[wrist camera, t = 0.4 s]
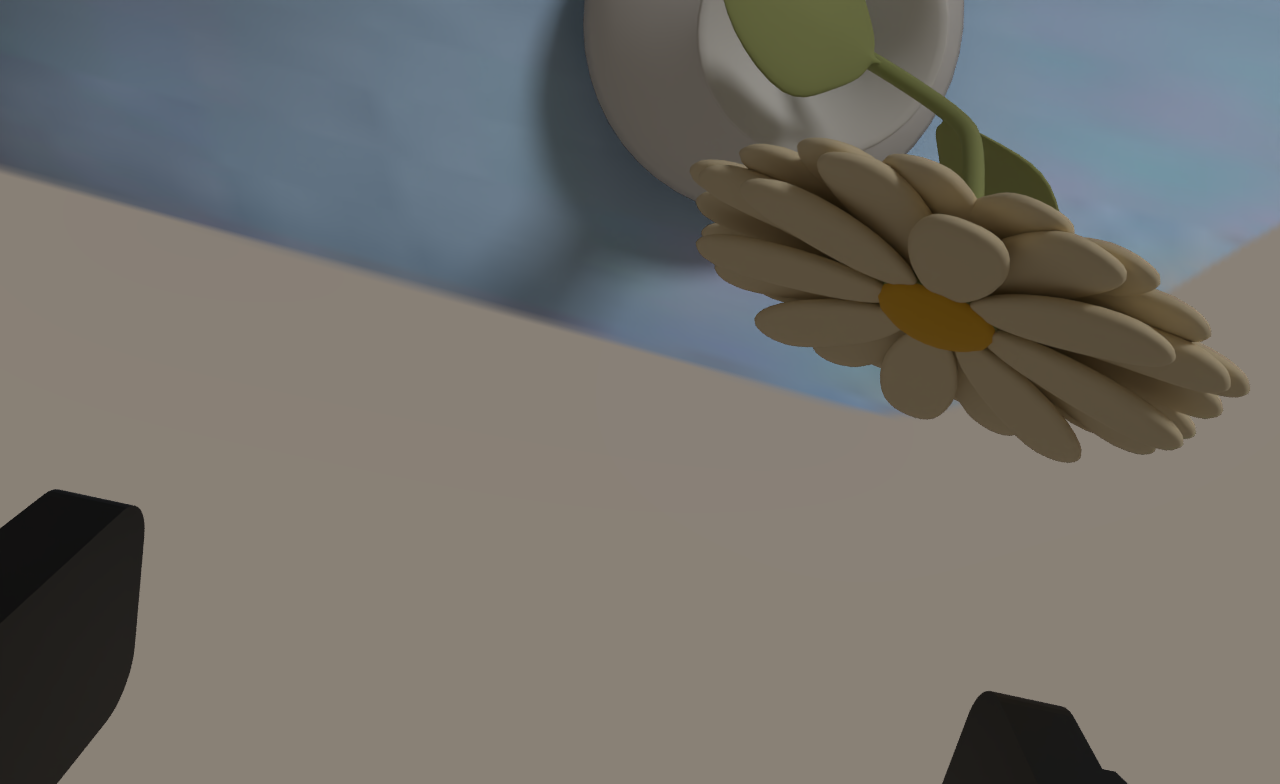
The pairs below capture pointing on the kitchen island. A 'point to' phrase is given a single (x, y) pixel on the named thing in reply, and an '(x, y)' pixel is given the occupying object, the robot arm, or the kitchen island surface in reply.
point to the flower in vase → (898, 219)
